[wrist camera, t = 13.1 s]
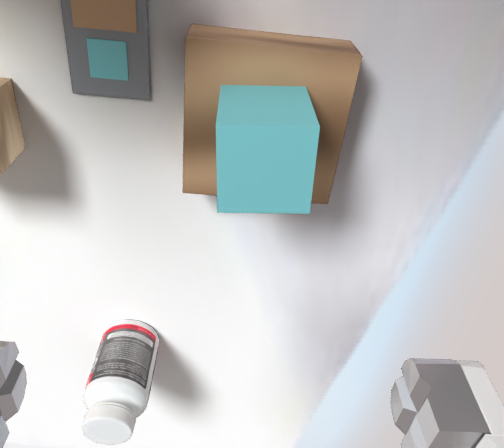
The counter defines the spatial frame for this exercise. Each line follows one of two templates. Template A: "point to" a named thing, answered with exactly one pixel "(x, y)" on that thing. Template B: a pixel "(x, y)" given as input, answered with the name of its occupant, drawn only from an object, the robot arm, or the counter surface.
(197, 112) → the walnut plinth
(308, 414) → the counter surface
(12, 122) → the birch block
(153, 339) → the pill bottle
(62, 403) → the counter surface
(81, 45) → the card
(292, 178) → the teal block
